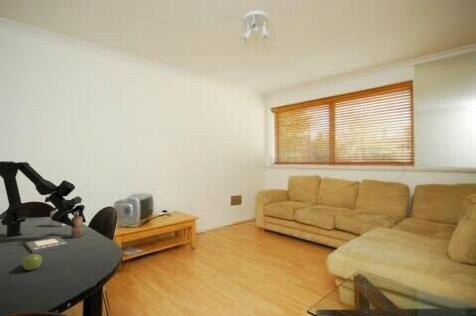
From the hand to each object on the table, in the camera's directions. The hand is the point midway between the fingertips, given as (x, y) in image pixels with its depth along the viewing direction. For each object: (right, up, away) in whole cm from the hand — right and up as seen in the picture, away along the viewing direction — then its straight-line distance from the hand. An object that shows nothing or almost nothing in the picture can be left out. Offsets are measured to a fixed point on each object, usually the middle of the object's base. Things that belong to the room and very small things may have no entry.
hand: (79, 224), depth 134 cm
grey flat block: (-6, -6, -15) cm, 17 cm away
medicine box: (-27, -7, +23) cm, 36 cm away
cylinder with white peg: (-1, -7, 0) cm, 7 cm away
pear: (+6, -6, -39) cm, 40 cm away
